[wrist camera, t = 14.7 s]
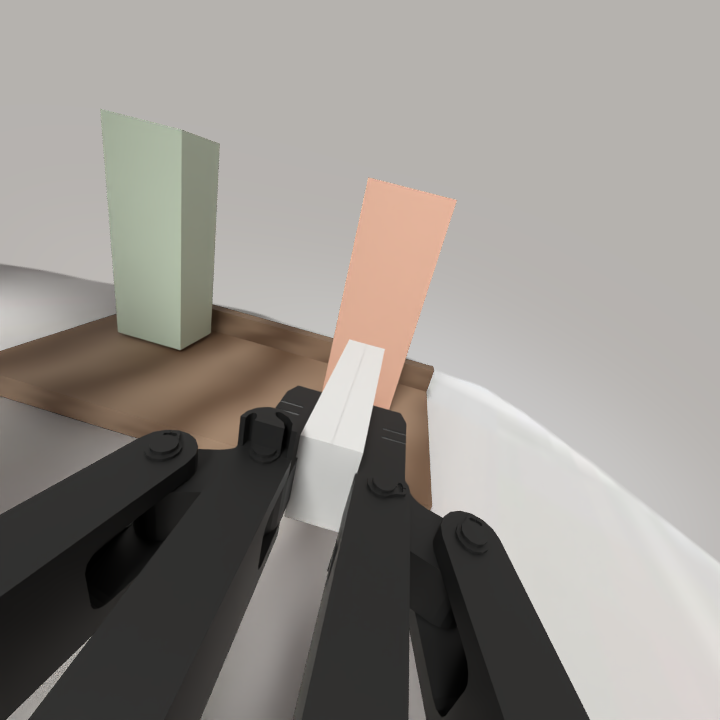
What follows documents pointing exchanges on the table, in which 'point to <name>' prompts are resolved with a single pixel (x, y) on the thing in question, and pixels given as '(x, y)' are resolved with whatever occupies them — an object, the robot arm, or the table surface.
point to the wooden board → (195, 381)
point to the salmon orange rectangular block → (390, 275)
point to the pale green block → (161, 228)
